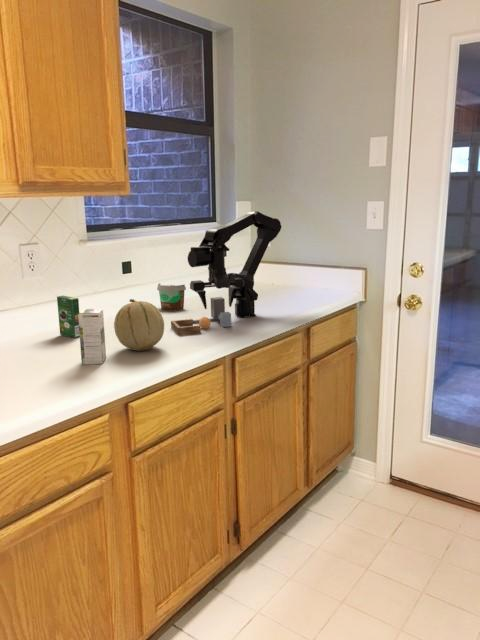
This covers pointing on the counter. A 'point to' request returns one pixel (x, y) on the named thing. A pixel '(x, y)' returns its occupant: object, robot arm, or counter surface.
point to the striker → (220, 311)
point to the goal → (185, 327)
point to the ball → (204, 322)
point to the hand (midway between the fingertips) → (218, 307)
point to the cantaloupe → (139, 325)
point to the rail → (210, 320)
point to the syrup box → (92, 336)
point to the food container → (171, 297)
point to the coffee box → (68, 316)
